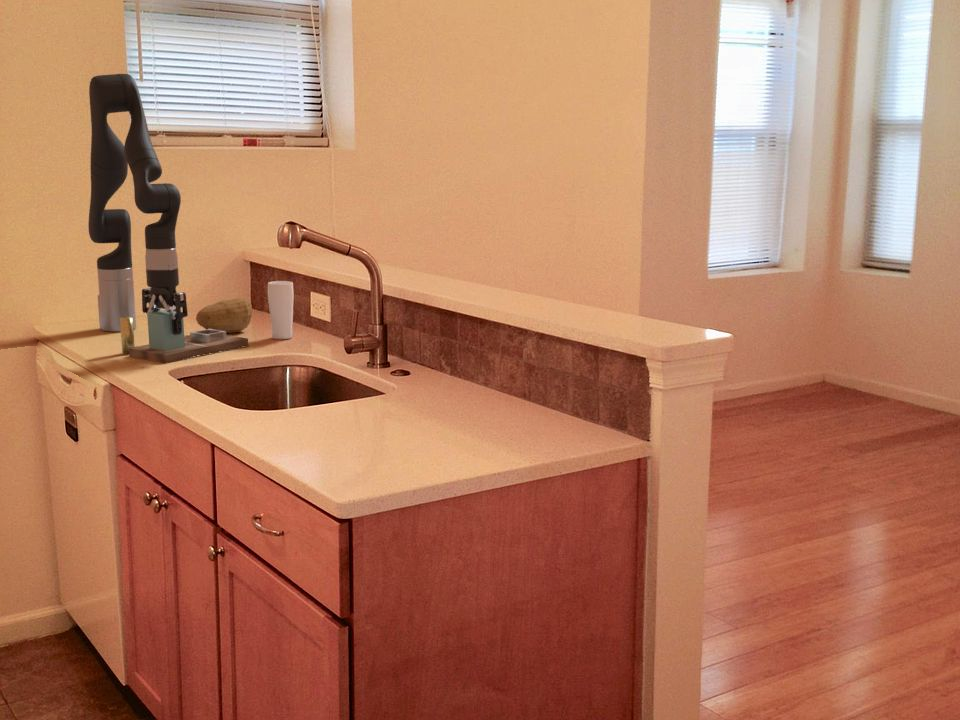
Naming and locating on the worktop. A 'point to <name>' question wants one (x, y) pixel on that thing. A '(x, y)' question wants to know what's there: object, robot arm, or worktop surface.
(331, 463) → the worktop surface
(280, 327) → the drinking glass
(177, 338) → the block
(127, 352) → the pin
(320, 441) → the worktop surface
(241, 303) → the potato
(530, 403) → the worktop surface
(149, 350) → the board
